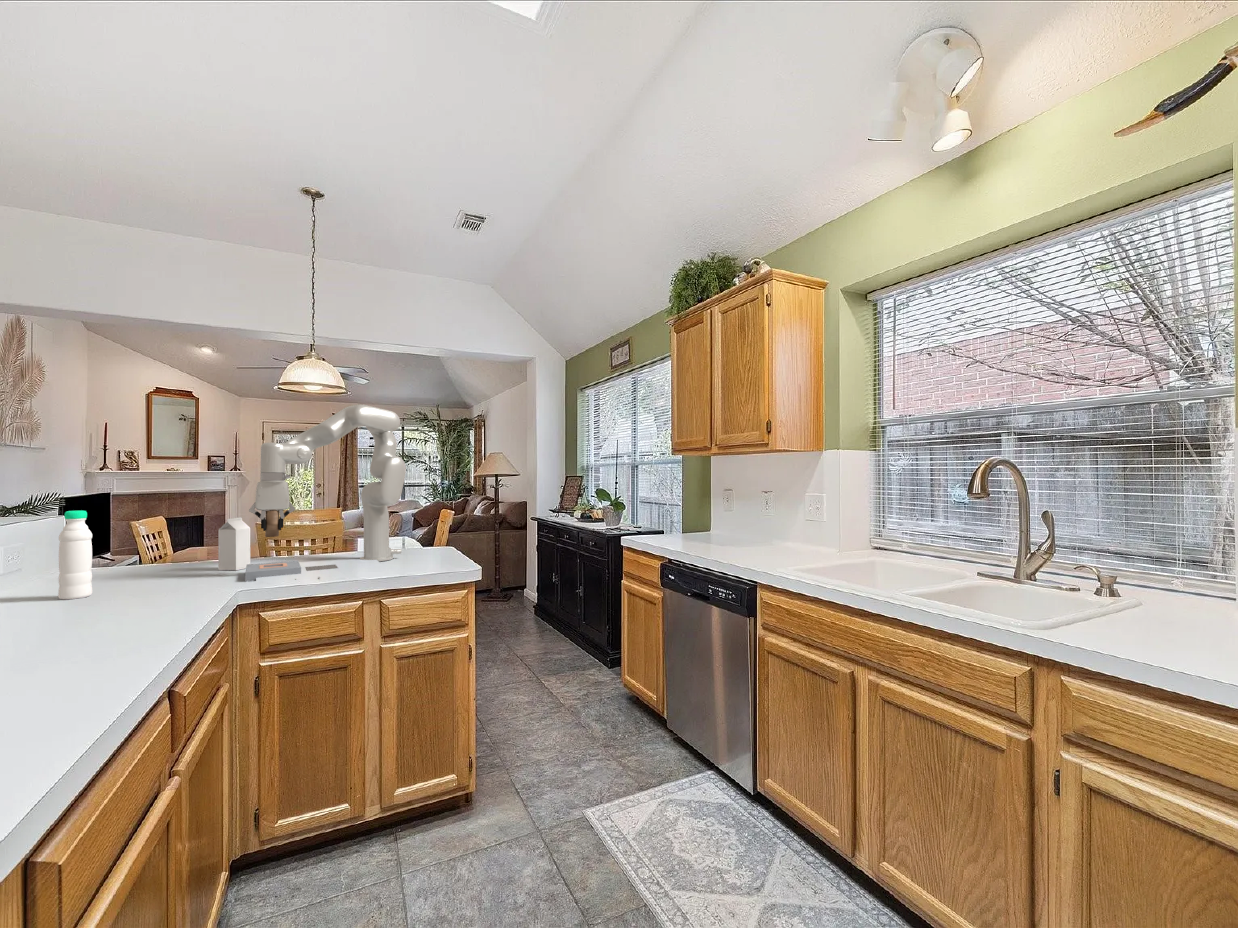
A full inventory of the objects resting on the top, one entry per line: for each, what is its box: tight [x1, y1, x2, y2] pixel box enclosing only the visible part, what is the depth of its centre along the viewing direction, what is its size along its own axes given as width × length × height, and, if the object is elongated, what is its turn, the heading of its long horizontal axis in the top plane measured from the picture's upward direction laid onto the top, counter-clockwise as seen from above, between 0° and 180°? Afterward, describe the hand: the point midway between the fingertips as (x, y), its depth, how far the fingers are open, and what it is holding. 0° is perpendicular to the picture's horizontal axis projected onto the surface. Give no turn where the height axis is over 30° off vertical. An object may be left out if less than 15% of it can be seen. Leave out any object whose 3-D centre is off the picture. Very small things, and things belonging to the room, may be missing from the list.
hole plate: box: [244, 560, 302, 582], centre depth 199 cm, size 16×20×3 cm
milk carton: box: [217, 517, 251, 571], centre depth 212 cm, size 7×7×19 cm
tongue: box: [304, 564, 339, 572], centre depth 207 cm, size 10×10×1 cm
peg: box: [264, 510, 280, 538], centre depth 199 cm, size 4×4×9 cm
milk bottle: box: [57, 510, 93, 601], centre depth 164 cm, size 7×7×25 cm
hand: (272, 529), depth 199 cm, fingers closed on peg, 4 cm apart
